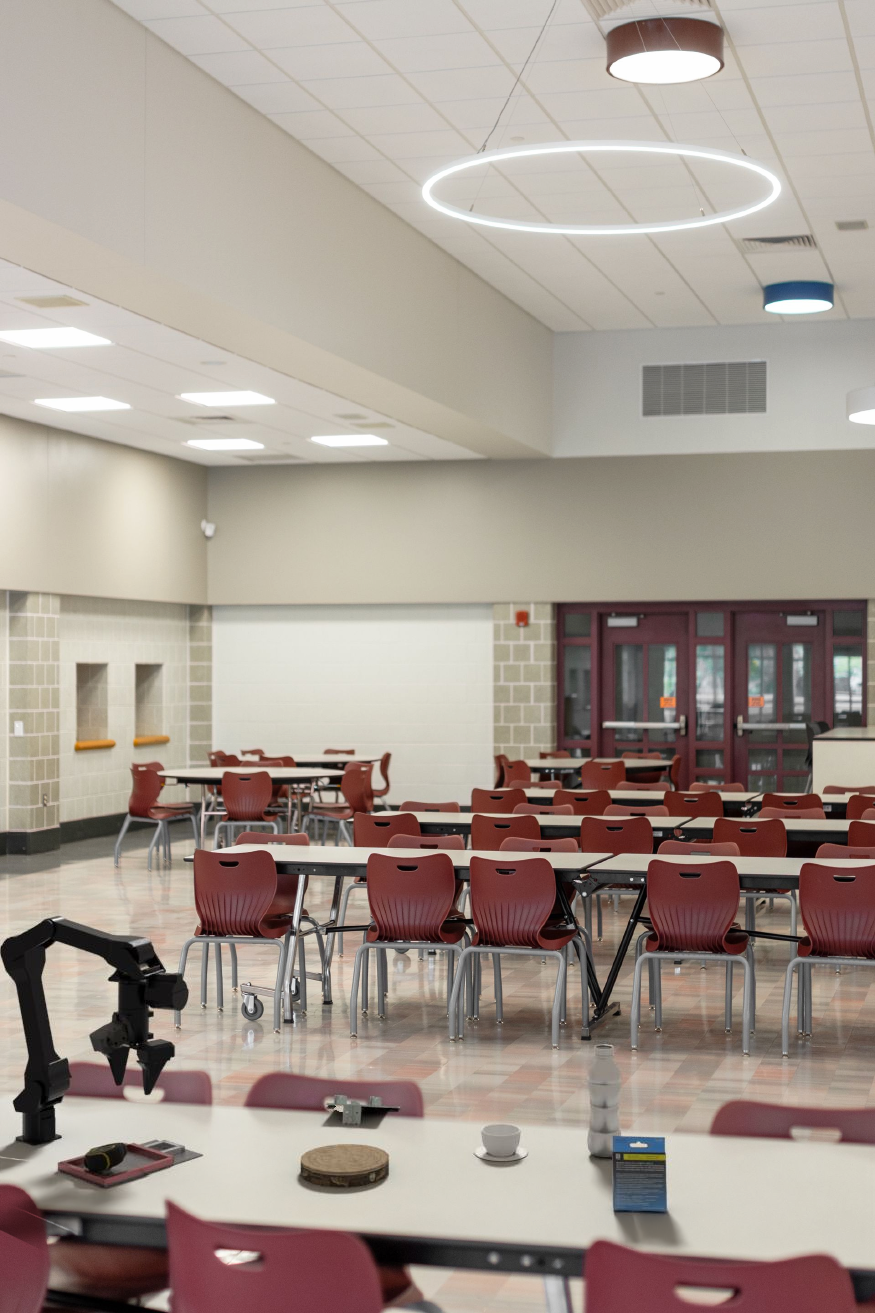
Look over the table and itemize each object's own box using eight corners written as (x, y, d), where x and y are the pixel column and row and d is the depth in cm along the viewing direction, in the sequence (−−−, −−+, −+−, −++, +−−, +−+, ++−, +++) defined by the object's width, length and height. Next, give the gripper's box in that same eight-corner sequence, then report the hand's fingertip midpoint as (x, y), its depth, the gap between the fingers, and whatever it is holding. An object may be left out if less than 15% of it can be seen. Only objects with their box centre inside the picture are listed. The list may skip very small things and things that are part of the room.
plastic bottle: (582, 1159, 268) (581, 1049, 269) (593, 1148, 275) (592, 1041, 275) (616, 1163, 266) (616, 1052, 267) (626, 1152, 272) (625, 1044, 273)
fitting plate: (57, 1171, 263) (57, 1163, 263) (155, 1143, 280) (155, 1134, 280) (104, 1188, 254) (104, 1179, 254) (203, 1158, 271) (203, 1149, 271)
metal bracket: (388, 1097, 289) (315, 1094, 292) (387, 1128, 287) (313, 1124, 290) (402, 1098, 303) (331, 1095, 305) (400, 1128, 301) (330, 1124, 303)
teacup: (510, 1167, 265) (510, 1141, 265) (464, 1158, 270) (464, 1132, 271) (537, 1152, 273) (537, 1127, 274) (491, 1143, 279) (491, 1119, 279)
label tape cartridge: (666, 1204, 245) (665, 1130, 245) (667, 1213, 241) (666, 1137, 241) (612, 1203, 246) (611, 1129, 246) (612, 1211, 242) (612, 1136, 242)
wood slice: (282, 1175, 261) (281, 1159, 261) (346, 1155, 273) (346, 1138, 273) (343, 1196, 250) (342, 1178, 251) (407, 1173, 262) (407, 1156, 262)
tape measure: (131, 1157, 265) (126, 1137, 265) (118, 1172, 258) (113, 1151, 258) (96, 1165, 265) (90, 1145, 265) (82, 1180, 259) (77, 1159, 259)
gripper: (68, 1005, 274) (67, 1089, 274) (126, 1021, 262) (125, 1109, 261) (118, 996, 283) (118, 1078, 282) (177, 1011, 270) (176, 1096, 269)
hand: (132, 1090), depth 274 cm, fingers open, 9 cm apart
